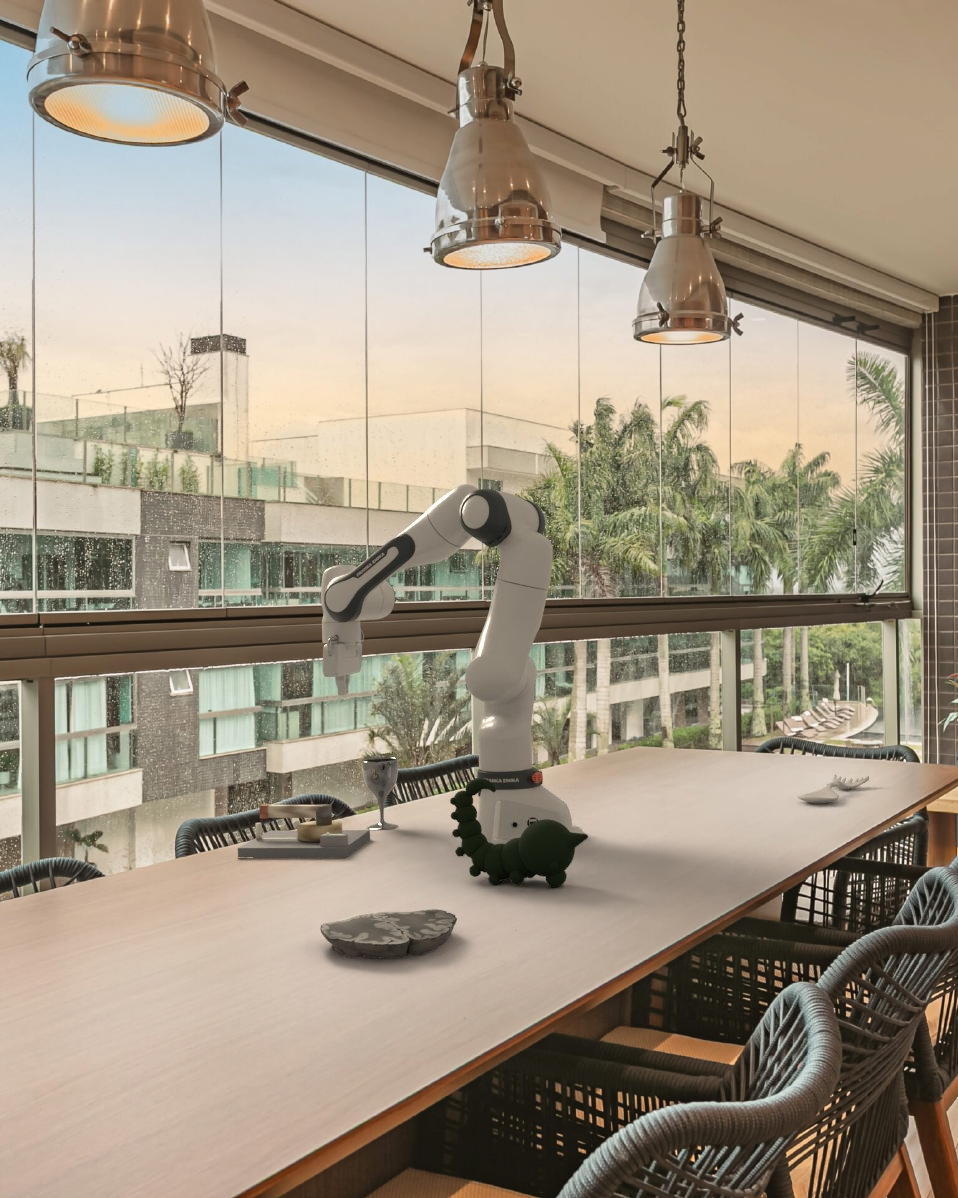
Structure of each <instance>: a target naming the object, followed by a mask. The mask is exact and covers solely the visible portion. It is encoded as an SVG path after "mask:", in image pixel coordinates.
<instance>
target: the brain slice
mask: <svg viewBox="0 0 958 1198" xmlns="http://www.w3.org/2000/svg"><path fill="white" fill-rule="evenodd" d="M457 920H458V918H457V917H456V914H453V913H452V912H447V911H446V910H442V909H425V910H424V909H421V910H415V911H380V912H376V913H374V912H373V913H368V914H367V913H366V914H359V915H357V916H354V917H349V918H347V919H343V920H336V921H332V922H330V921H329V922H326V923H323V924H320V927H319V928H320V933H321V934H322V936H323V937H324V938H325V939H326V941H327V942H328V943H330V944H331V945H332V946H333V948H334V949H335V950H336V952H337V953H338V954H339V955H340V956H346V957H348V958H365V959H366V958H368V959H369V958H370V959H385V960H390V959H391V960H392V959H393V960H394V959H397V958H399V959H400V958H405V957H406V956H407V955H408V956H423V955H427V954H428V953H431V952H434V951H435V950H437V949H438V948H439V947H441V946H443V945H444V944H445V942H446V941H447V940H448V938H449V937H450V935H451V934H452V932H453V930H454V928H455V927H454V926H455V925H456V923H457Z"/></svg>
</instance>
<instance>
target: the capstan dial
mask: <svg viewBox="0 0 958 1198" xmlns="http://www.w3.org/2000/svg"><path fill="white" fill-rule="evenodd" d="M258 808H259V819H269V818H271V819H272V818H273V819H315V820H311V821H305V822H301V823H299V824H297V825H296V830H297V836H298V840H300V841H308V842H318V841H320V836H321V835H323V834H326V833H327V832H329V833H330V834H342V830H343V822H342V821H340V820H333V812H332V804H331V803H330V804H328V803H325V804H322V803H321V804H272V803H263V804H260V805H259V807H258Z"/></svg>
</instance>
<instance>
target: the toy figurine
mask: <svg viewBox="0 0 958 1198" xmlns="http://www.w3.org/2000/svg"><path fill="white" fill-rule="evenodd" d="M482 789H489V790H491V791H492V792H495V791H496V788H495V786H494V785H493V784H492V783H491V782H490V781H489V780H487V779H484V778H477V777H476V778H473V779H471V780H469V782H467V783H466V785H465V790H459V791H457V792H456V793H455V795H454V796H453V797H451V798H450V800H449V803H450V804H451V805H452V806H454V807H455V810H454V811H452V812H451V814H450V818H451V820H454V821H456V822H457V823H458V825H457V828H455V829H453V830H452V832H451V833H452V836H453V837H454V838H460V839H461V842H460V843H461V844H460V845H461V846H458V847H457V848H456V849H455V850H454V851H455V855H456V856H457V857H458V858H459V857H460V858H461V857H464V856H465V855H466V857H468V858H470V859H471V863H472V864H473V865H471V866H470V867H469V871H468V872H469V875H470V876H472V877H474V878H477V877H479V876H480V875H481V873H486V874H487V876H489V877H488V881H489V883H490V884H492V885H493V886H495V885H499V884H500V882H501V881H505V880H510V882H511V883H512V884H513V885H516V886H518V885H520V884H522V883H523V882H524V881H525V879H526V878H528V879H533V878H534V877H536V876H539V877H543V878H544V877H545V882H546V884H547V885H548V886H549V887H550V888H558V887H561V886H562V885H564V883H566V881H567V875H568V874H567V873H566V870H567V869H568V868H569V866H570V865H571V864H572V862H573V860H574V857H575V852H576V848H577V847H578V846H579V845H581V844H582V843H583V842H585V840H587V839H588V837H589V835H588V834H586V833H583V834H581V833H573V832H570V831H569V830H568V829H567V828H566V827H565V826H564V825H562V824H561V823H559V822H557V821H554V820H549V819H544V820H539V821H536V822H534V823H532V824H531V825H529V826H528V827H527V828H526V829H525V830H524V832H523V833H522V835H521V837H520V838H514V839H511V840H510V841H508V842H507V843H506V844H493V843H489V842H488V841H487V838H486V837H485V835H483V834H482V833H481V832H482V828H481V824H480V823H479V821H478V820H477V819H478V811H477V808H476V806H475V805H474V797H473V796H476V795H478V792H480V791H481V790H482Z"/></svg>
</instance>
